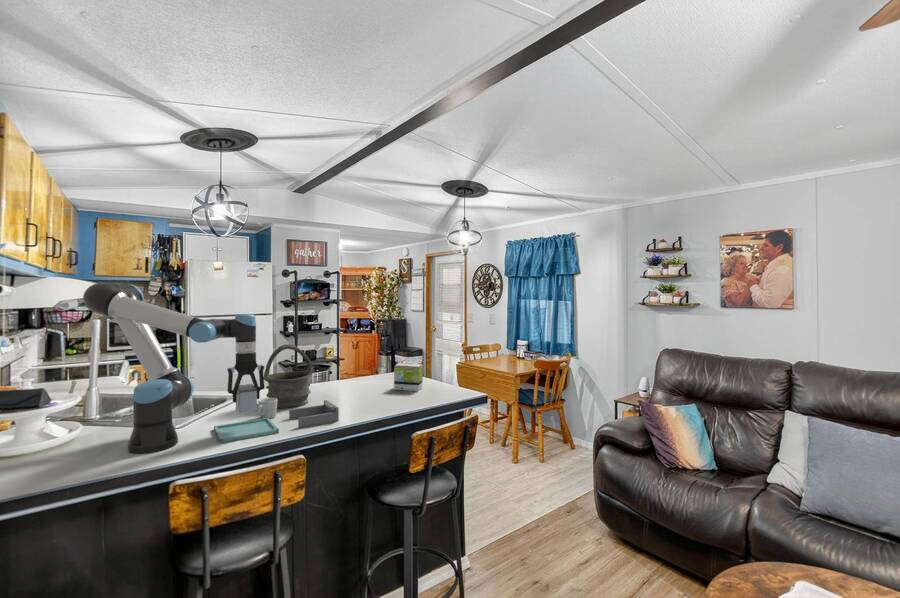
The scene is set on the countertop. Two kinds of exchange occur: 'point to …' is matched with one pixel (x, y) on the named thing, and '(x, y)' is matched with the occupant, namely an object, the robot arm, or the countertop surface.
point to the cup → (267, 407)
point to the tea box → (408, 376)
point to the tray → (245, 430)
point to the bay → (315, 414)
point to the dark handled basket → (288, 382)
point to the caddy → (247, 398)
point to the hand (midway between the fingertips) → (246, 408)
